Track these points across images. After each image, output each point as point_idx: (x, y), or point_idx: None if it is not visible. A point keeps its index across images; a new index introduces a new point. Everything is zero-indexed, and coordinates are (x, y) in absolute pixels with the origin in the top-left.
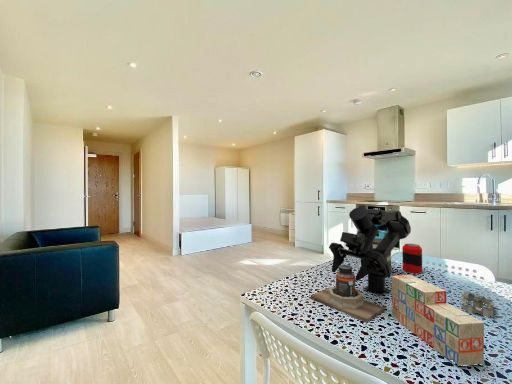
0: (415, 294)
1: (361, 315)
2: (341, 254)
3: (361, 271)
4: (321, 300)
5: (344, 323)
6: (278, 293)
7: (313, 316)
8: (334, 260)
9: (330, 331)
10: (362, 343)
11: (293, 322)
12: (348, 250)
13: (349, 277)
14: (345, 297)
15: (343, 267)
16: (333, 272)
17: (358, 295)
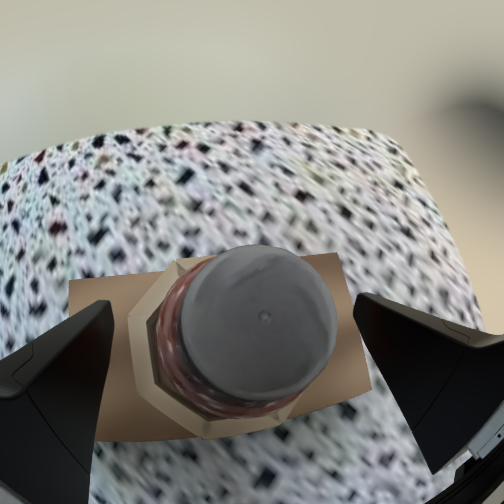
0: None
1: (93, 289)
2: (489, 441)
3: (44, 333)
4: None
5: (120, 219)
6: (391, 198)
7: (213, 173)
8: (442, 325)
9: (127, 159)
10: (48, 186)
11: (220, 122)
12: (488, 496)
13: (166, 295)
14: (172, 282)
15: (249, 266)
16: (353, 309)
17: (150, 369)
